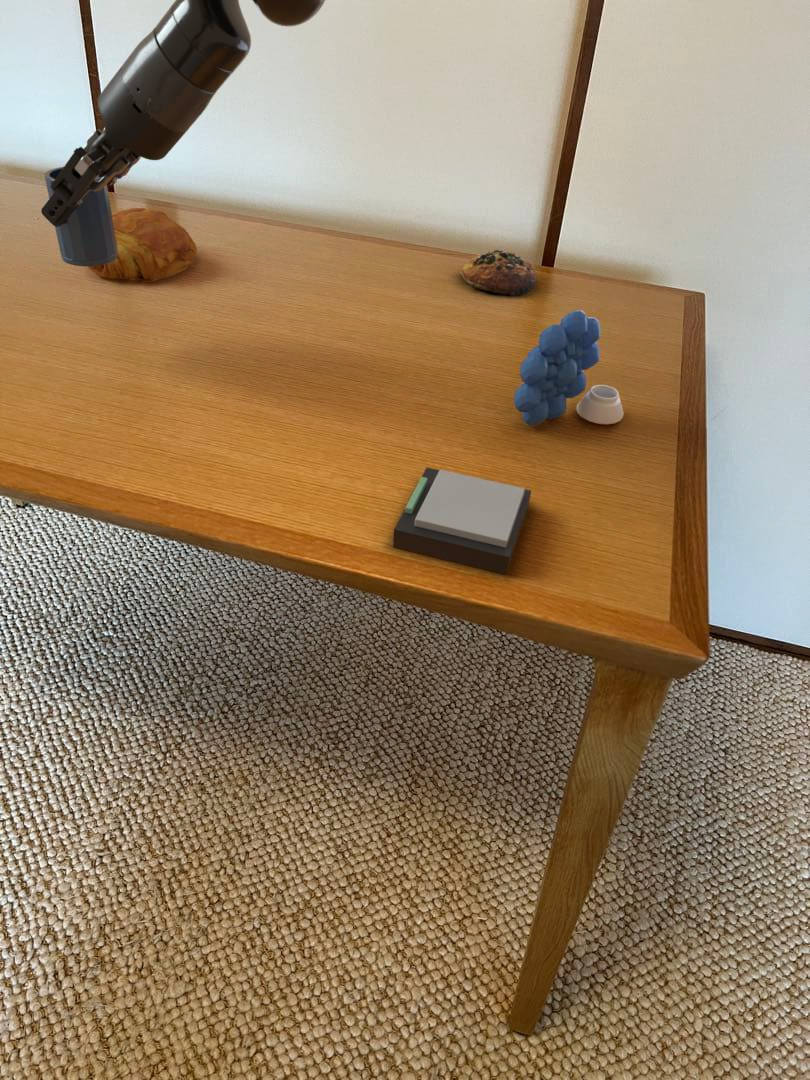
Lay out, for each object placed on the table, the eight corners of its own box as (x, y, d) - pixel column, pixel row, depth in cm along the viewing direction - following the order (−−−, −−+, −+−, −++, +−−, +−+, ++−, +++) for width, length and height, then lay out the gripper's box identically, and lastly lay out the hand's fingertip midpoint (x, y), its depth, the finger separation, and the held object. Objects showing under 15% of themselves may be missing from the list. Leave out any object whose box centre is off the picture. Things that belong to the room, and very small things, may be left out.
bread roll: (517, 301, 111) (518, 264, 109) (446, 292, 116) (446, 256, 114) (549, 281, 119) (552, 245, 116) (482, 272, 124) (482, 238, 121)
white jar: (570, 419, 88) (614, 432, 87) (575, 395, 86) (621, 408, 85) (583, 399, 92) (626, 411, 90) (589, 376, 90) (633, 388, 88)
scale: (392, 547, 70) (394, 521, 68) (424, 484, 77) (427, 459, 76) (506, 575, 68) (511, 549, 66) (528, 507, 75) (532, 483, 74)
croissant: (71, 283, 113) (51, 227, 108) (147, 237, 122) (132, 183, 117) (148, 306, 108) (132, 249, 102) (222, 256, 117) (211, 201, 111)
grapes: (555, 387, 94) (575, 286, 86) (600, 412, 90) (625, 309, 82) (483, 417, 88) (497, 311, 80) (528, 445, 84) (548, 337, 76)
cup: (64, 268, 85) (46, 183, 80) (59, 249, 89) (42, 167, 84) (121, 263, 87) (108, 180, 82) (114, 245, 91) (101, 164, 86)
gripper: (159, 48, 81) (70, 162, 89) (90, 73, 70) (-3, 200, 78) (215, 113, 84) (124, 217, 92) (157, 146, 73) (60, 261, 81)
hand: (66, 209), depth 85 cm, fingers closed on cup, 6 cm apart
